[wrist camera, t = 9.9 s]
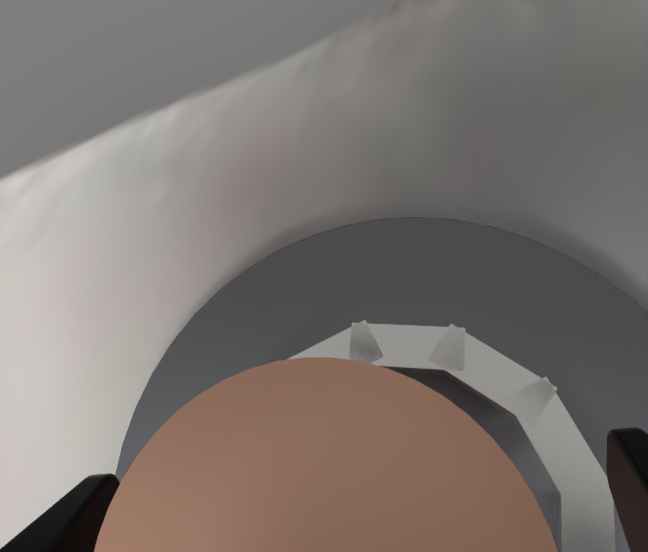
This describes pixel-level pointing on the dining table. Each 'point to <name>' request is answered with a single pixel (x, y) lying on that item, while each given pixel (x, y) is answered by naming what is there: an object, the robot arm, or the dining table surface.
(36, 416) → the dining table surface
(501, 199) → the dining table surface
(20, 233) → the dining table surface
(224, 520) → the terracotta peg
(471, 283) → the charcoal plate
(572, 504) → the metal collar
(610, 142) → the dining table surface
